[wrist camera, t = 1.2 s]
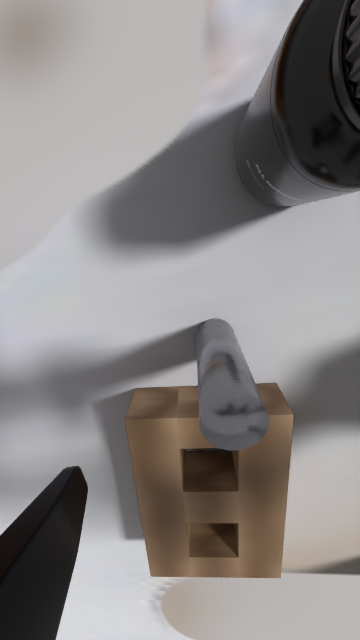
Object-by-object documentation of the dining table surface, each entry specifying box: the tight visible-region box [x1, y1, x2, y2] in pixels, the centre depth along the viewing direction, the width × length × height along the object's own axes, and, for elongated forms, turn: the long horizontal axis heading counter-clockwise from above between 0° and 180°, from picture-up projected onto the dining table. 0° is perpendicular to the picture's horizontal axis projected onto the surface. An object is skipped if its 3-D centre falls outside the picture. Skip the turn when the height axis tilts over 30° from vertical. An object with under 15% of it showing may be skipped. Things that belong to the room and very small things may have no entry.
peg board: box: [124, 383, 294, 578], centre depth 23 cm, size 12×18×4 cm, turn 4°
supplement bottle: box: [236, 0, 360, 206], centre depth 11 cm, size 7×7×12 cm
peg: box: [196, 319, 269, 451], centre depth 16 cm, size 3×3×10 cm
